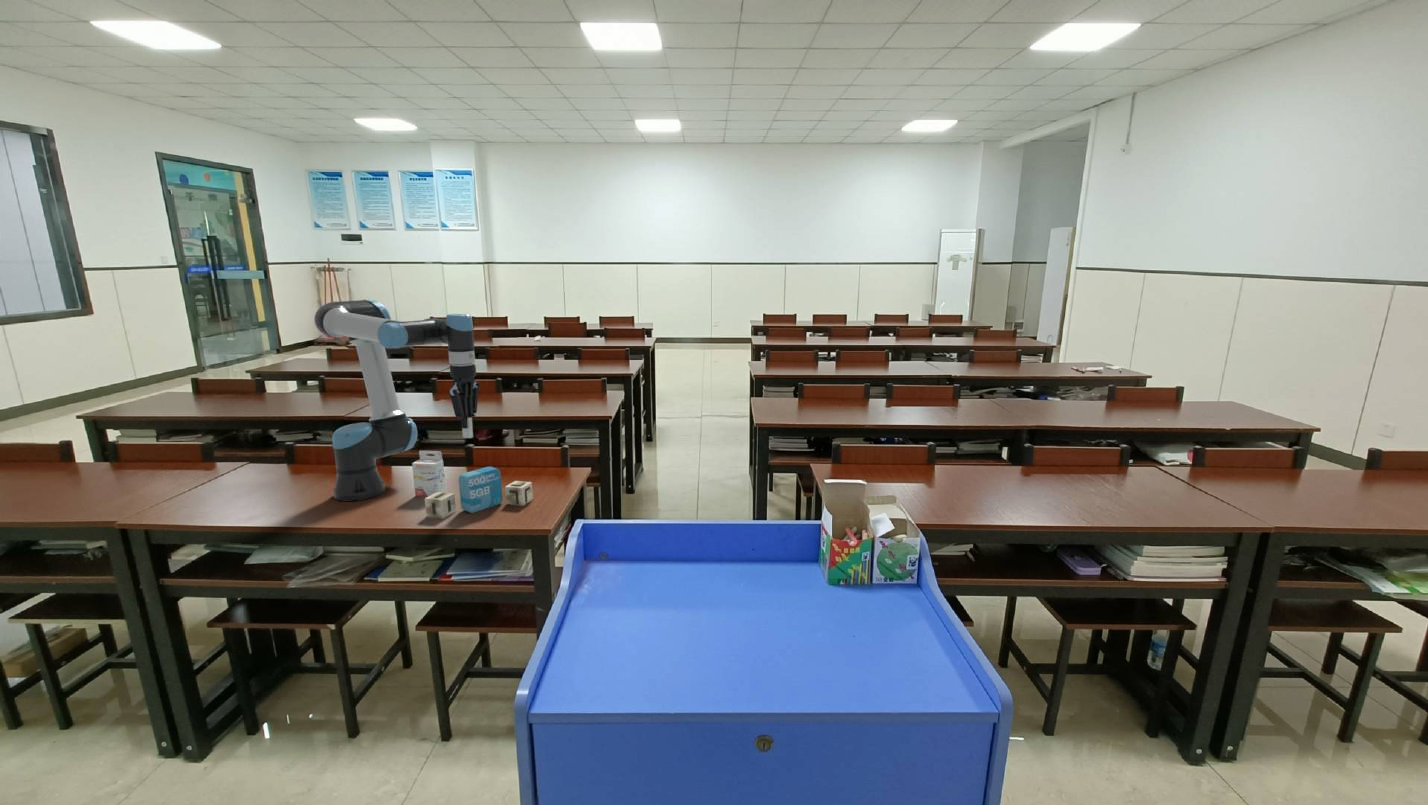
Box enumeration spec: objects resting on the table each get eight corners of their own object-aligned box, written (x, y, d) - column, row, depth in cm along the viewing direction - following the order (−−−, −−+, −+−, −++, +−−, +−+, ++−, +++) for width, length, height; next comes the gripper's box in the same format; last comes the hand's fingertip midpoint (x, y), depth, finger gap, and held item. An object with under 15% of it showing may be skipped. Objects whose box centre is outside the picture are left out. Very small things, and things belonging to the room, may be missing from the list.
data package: (468, 514, 191) (465, 477, 189) (461, 511, 194) (457, 474, 191) (503, 503, 200) (500, 467, 198) (495, 500, 203) (492, 465, 200)
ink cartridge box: (414, 496, 207) (409, 454, 204) (422, 491, 211) (418, 450, 208) (439, 497, 206) (434, 455, 203) (446, 492, 211) (442, 450, 208)
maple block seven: (506, 504, 199) (504, 486, 198) (516, 498, 205) (515, 480, 204) (523, 506, 198) (522, 487, 196) (533, 499, 204) (532, 481, 202)
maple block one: (426, 517, 189) (424, 498, 188) (439, 509, 195) (437, 491, 194) (443, 519, 188) (441, 499, 187) (456, 511, 194) (454, 492, 192)
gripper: (459, 368, 186) (465, 443, 191) (485, 361, 198) (490, 433, 203) (438, 366, 187) (444, 441, 193) (465, 360, 200) (470, 431, 205)
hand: (467, 437), depth 198 cm, fingers closed
